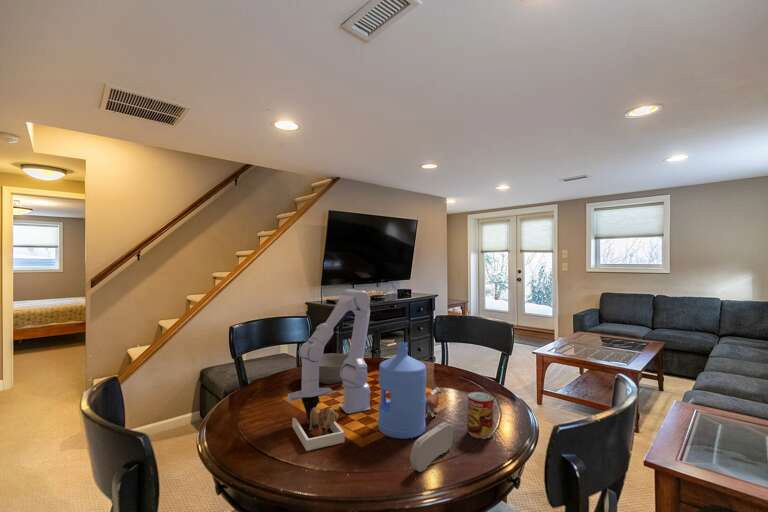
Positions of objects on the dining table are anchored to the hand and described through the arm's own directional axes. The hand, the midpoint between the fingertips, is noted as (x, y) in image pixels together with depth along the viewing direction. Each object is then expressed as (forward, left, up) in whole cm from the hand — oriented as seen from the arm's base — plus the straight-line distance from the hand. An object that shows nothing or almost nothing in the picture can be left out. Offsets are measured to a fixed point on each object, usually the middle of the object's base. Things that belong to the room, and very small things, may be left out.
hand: (309, 419), depth 121 cm
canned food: (-47, +31, -2) cm, 56 cm away
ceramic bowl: (-21, -38, -2) cm, 44 cm away
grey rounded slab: (-24, +37, -2) cm, 44 cm away
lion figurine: (-2, +8, -2) cm, 8 cm away
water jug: (-26, +17, -2) cm, 31 cm away
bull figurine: (-42, +12, -2) cm, 44 cm away
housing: (0, +8, -1) cm, 9 cm away
